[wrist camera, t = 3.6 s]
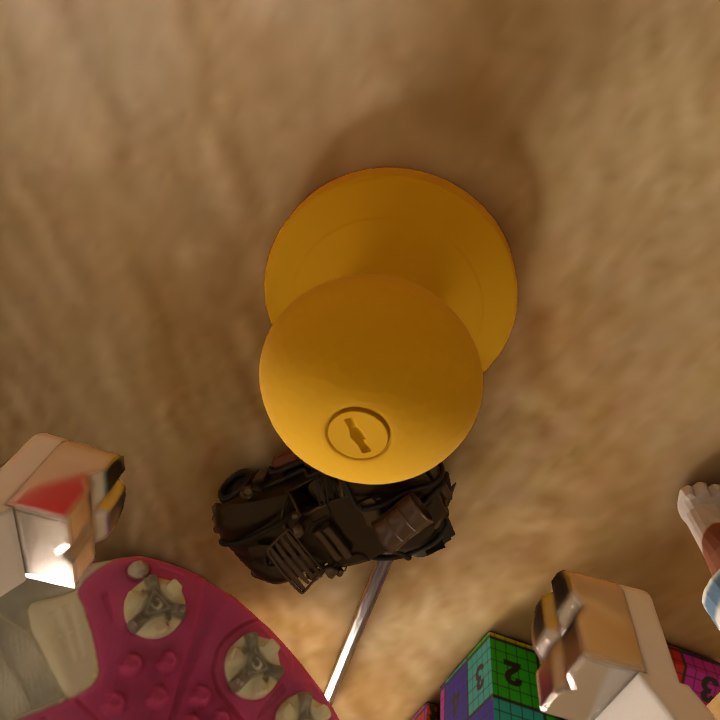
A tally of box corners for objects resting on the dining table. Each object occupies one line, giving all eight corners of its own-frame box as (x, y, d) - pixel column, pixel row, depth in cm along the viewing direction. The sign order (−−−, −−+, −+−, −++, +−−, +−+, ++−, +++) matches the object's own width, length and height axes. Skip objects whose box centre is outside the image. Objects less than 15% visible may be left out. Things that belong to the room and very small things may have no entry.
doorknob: (468, 120, 16) (543, 353, 19) (228, 223, 18) (334, 411, 22) (477, 203, 10) (585, 524, 13) (112, 339, 12) (285, 576, 16)
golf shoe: (435, 687, 28) (328, 752, 37) (-161, 351, 27) (-110, 505, 37) (350, 1079, 18) (238, 1028, 28) (-560, 571, 18) (-351, 699, 28)
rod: (412, 508, 24) (411, 521, 23) (325, 714, 34) (323, 727, 34) (396, 504, 24) (395, 516, 23) (314, 712, 34) (312, 724, 34)
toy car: (487, 503, 22) (484, 595, 19) (259, 572, 27) (221, 656, 24) (409, 381, 21) (389, 456, 17) (179, 480, 26) (124, 554, 22)
